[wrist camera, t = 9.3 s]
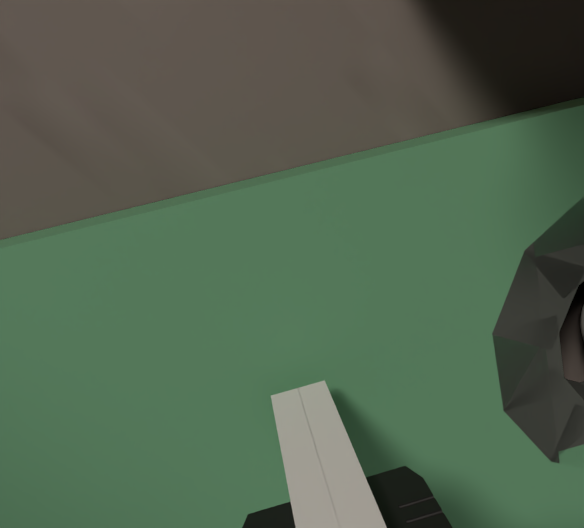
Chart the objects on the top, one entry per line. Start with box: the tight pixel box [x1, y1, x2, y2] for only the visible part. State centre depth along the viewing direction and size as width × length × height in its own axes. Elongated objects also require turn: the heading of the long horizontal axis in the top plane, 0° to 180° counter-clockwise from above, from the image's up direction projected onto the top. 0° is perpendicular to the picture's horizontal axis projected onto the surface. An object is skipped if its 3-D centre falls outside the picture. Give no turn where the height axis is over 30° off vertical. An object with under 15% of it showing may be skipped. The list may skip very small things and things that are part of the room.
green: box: [0, 97, 584, 528], centre depth 17 cm, size 26×14×2 cm, turn 103°
